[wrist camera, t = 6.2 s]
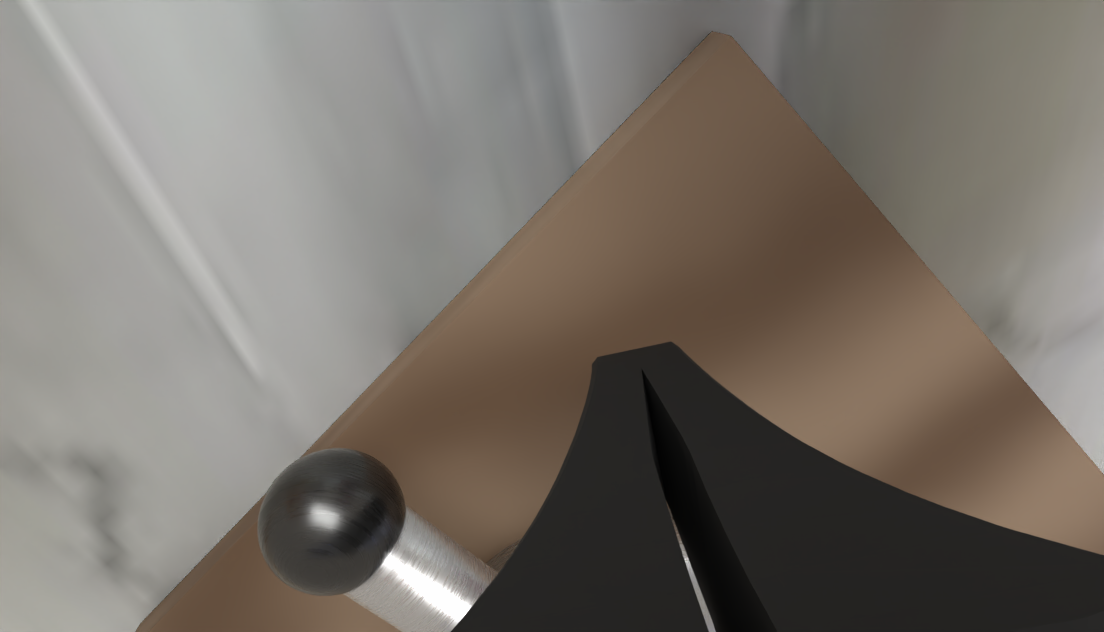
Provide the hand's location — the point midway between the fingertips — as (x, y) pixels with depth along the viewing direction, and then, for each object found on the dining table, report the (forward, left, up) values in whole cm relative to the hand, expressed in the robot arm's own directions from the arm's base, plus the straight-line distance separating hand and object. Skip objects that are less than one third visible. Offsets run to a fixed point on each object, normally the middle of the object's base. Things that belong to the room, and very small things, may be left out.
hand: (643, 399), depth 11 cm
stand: (-6, +5, -3) cm, 9 cm away
